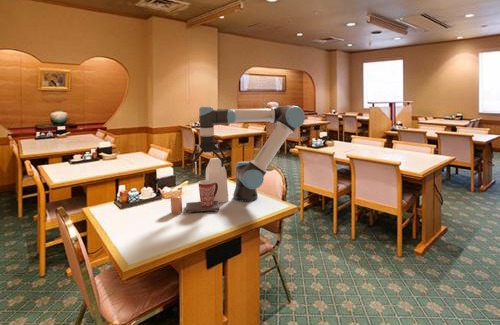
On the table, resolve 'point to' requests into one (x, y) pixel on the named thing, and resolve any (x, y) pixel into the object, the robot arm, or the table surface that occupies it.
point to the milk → (218, 179)
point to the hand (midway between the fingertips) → (208, 173)
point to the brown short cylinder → (176, 204)
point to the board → (200, 207)
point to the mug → (207, 192)
